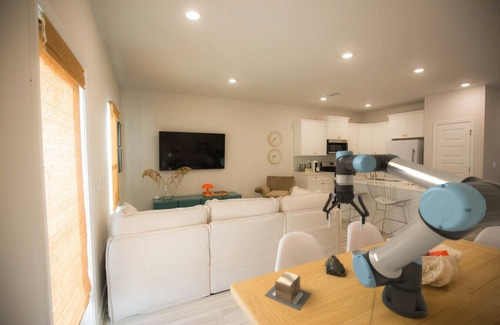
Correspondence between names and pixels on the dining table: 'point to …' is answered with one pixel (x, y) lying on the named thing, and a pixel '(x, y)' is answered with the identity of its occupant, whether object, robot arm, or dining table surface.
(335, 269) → the dark grey rock
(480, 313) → the dining table surface
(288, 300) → the card box
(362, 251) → the ramekin
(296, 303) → the mat
